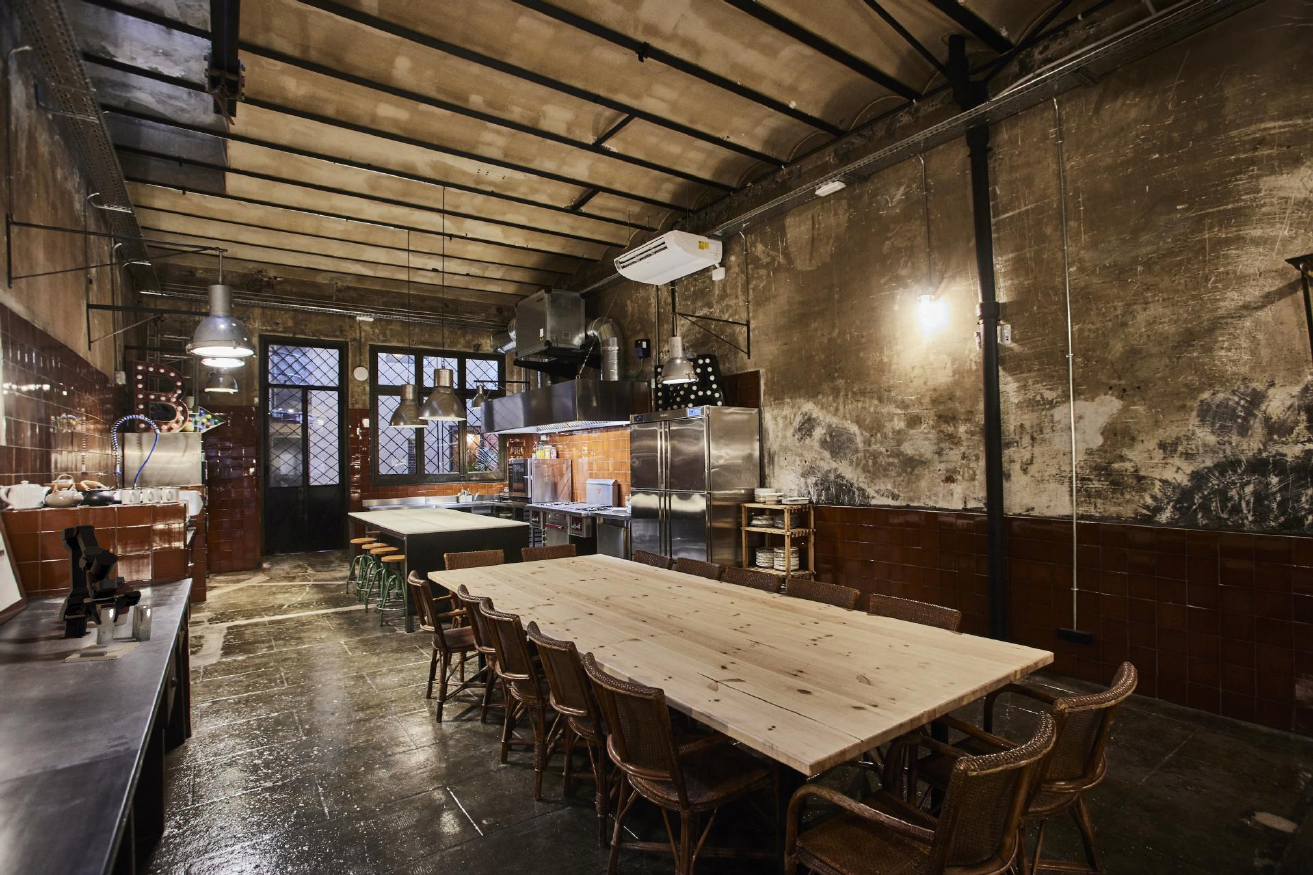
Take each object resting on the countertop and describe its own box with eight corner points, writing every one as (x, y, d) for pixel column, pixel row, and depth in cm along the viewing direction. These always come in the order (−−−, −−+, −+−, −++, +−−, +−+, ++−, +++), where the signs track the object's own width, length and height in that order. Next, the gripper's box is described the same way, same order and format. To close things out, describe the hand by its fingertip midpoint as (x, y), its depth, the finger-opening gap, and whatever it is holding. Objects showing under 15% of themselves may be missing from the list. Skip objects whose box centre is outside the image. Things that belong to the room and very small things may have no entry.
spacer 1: (96, 642, 201) (99, 608, 202) (112, 640, 204) (115, 606, 204) (96, 645, 198) (99, 610, 199) (113, 643, 201) (115, 609, 201)
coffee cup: (138, 621, 241) (140, 583, 241) (113, 628, 231) (116, 587, 232) (115, 620, 242) (117, 581, 242) (89, 626, 232) (92, 586, 233)
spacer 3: (138, 639, 218) (140, 607, 218) (152, 638, 219) (154, 607, 220) (133, 642, 214) (135, 610, 214) (147, 641, 215) (149, 609, 216)
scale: (91, 648, 206) (92, 640, 206) (139, 645, 210) (139, 638, 211) (65, 662, 191) (65, 654, 191) (116, 659, 195) (117, 651, 196)
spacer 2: (134, 636, 221) (136, 605, 222) (147, 635, 223) (150, 604, 223) (129, 639, 218) (131, 607, 218) (143, 638, 219) (145, 606, 220)
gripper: (68, 572, 197) (75, 613, 190) (141, 566, 212) (150, 603, 205) (59, 593, 201) (66, 634, 194) (132, 586, 216) (140, 623, 209)
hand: (107, 623), depth 201 cm, fingers closed on spacer 1, 4 cm apart
